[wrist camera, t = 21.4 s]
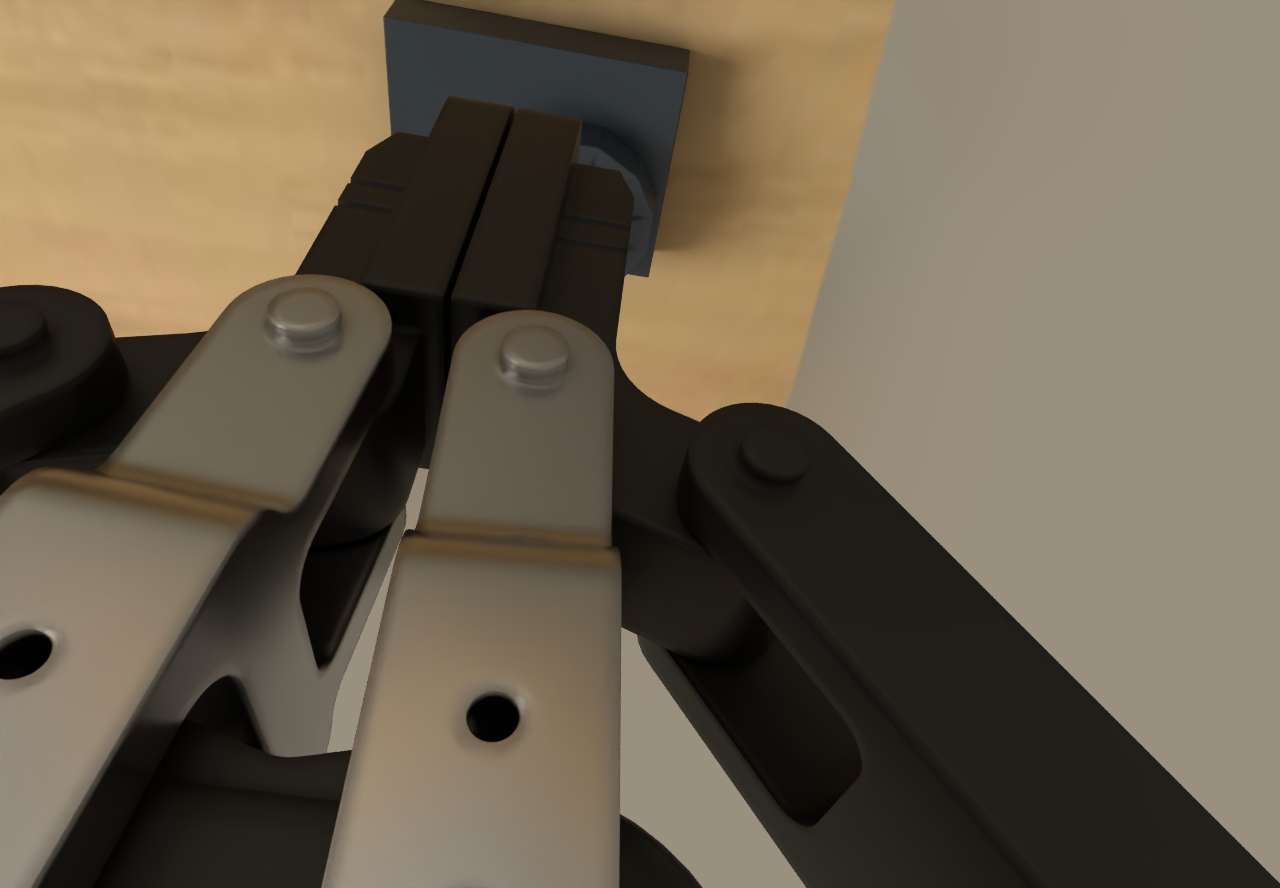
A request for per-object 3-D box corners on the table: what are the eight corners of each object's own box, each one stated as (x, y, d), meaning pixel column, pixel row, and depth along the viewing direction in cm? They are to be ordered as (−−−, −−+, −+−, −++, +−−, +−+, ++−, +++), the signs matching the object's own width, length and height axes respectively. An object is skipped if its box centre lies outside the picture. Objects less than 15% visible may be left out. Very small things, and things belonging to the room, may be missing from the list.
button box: (409, 213, 42) (387, 260, 39) (397, -5, 34) (369, 35, 32) (650, 254, 42) (645, 303, 40) (689, 49, 35) (686, 92, 32)
